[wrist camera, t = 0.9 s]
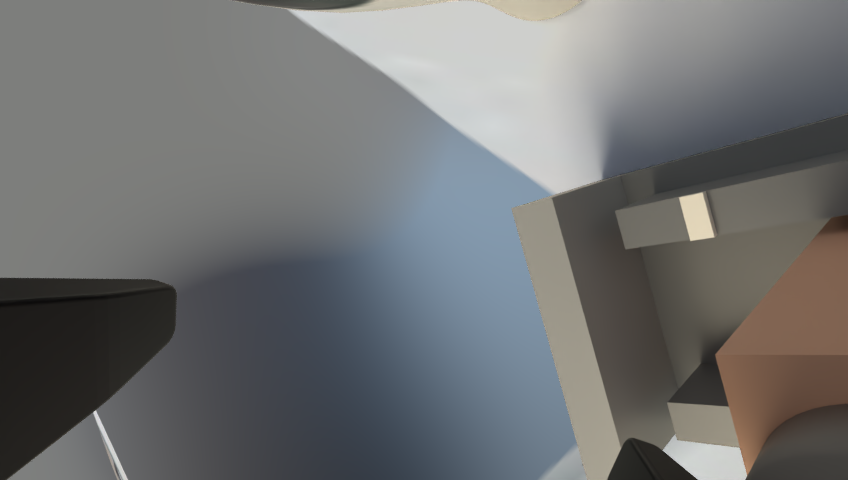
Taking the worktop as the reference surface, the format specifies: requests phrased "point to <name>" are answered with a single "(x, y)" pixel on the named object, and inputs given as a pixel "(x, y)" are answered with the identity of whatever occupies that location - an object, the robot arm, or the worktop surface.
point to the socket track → (672, 279)
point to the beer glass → (522, 3)
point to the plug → (795, 368)
